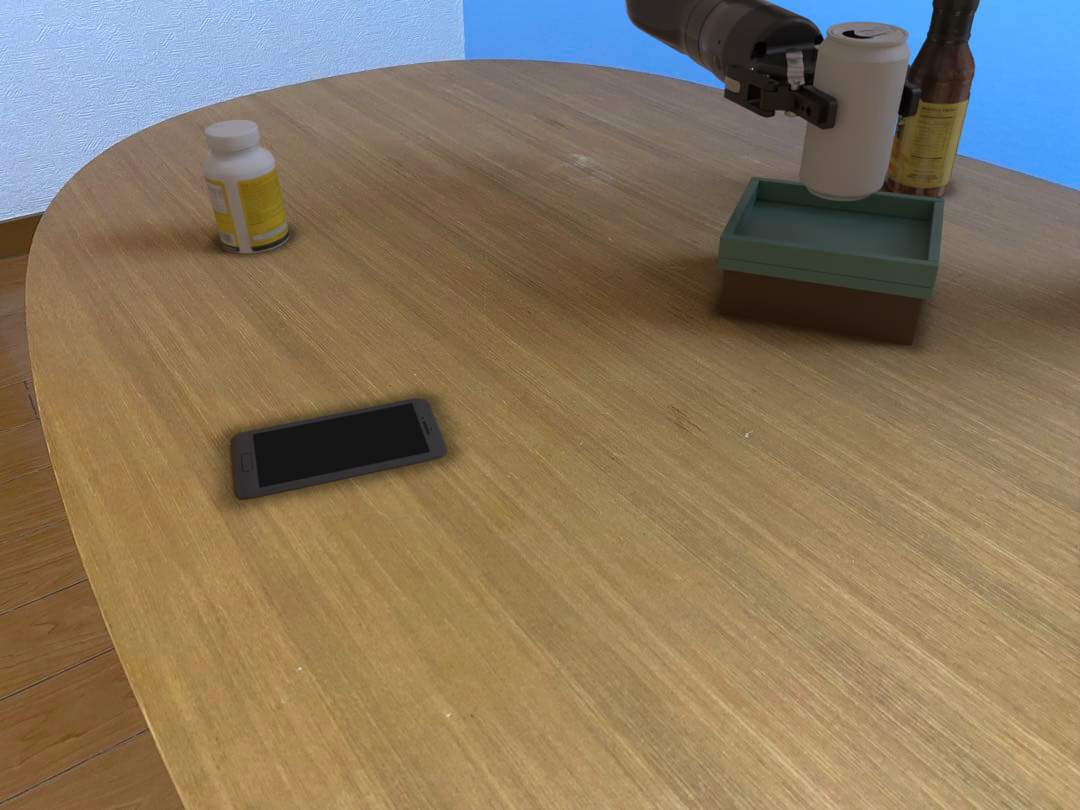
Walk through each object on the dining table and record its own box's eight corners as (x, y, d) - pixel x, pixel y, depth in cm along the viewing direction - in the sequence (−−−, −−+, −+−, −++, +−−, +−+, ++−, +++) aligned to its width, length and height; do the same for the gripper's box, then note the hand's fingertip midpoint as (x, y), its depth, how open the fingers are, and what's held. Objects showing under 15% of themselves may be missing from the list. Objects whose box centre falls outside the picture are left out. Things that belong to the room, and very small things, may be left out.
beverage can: (781, 181, 75) (803, 25, 68) (846, 167, 77) (874, 14, 70) (831, 211, 71) (859, 47, 64) (899, 196, 73) (934, 35, 65)
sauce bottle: (895, 175, 102) (935, -22, 90) (954, 188, 99) (1004, -15, 87) (874, 196, 98) (913, -8, 86) (935, 209, 95) (984, -1, 83)
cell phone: (231, 442, 65) (229, 433, 65) (427, 403, 69) (426, 395, 68) (237, 509, 60) (235, 500, 59) (451, 463, 63) (450, 454, 62)
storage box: (925, 282, 82) (945, 198, 78) (916, 357, 72) (938, 266, 68) (742, 256, 87) (751, 175, 83) (711, 323, 77) (719, 236, 73)
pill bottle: (303, 236, 93) (282, 120, 86) (264, 264, 88) (238, 143, 81) (249, 227, 95) (224, 113, 88) (208, 254, 90) (178, 135, 83)
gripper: (686, 12, 77) (794, 68, 64) (838, -5, 80) (969, 45, 68) (680, 103, 81) (780, 173, 68) (824, 84, 85) (945, 146, 72)
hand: (873, 109), depth 68 cm, fingers closed on beverage can, 6 cm apart
